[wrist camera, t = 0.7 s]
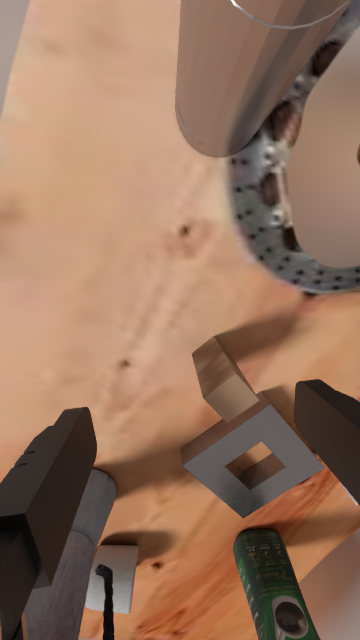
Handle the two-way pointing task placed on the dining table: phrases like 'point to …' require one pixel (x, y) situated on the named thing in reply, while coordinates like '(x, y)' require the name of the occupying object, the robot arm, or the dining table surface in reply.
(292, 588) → the coffee jar
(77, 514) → the moka pot
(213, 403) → the tan square peg
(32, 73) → the dining table surface
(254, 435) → the square hole plate
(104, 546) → the ceramic mug
